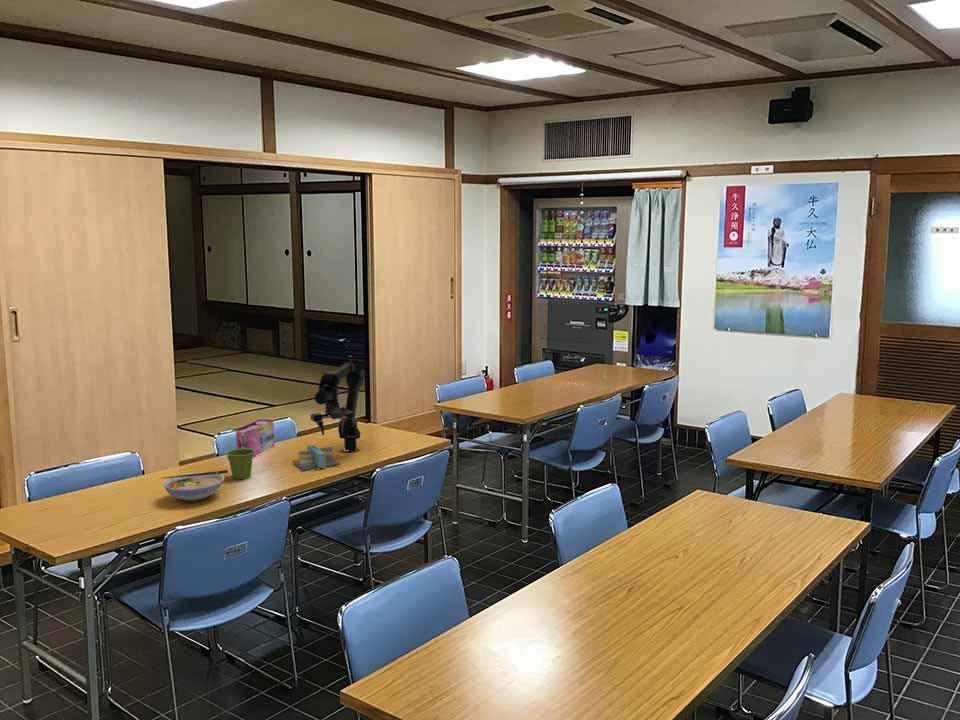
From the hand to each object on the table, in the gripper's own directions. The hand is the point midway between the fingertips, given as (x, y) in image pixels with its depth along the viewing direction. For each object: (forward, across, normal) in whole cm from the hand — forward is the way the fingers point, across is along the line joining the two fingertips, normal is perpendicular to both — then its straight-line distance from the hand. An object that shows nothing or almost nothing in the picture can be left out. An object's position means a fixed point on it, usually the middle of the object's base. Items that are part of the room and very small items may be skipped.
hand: (333, 434), depth 366 cm
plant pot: (+12, -43, -8) cm, 45 cm away
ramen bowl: (+12, -65, -28) cm, 72 cm away
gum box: (+12, -28, +33) cm, 45 cm away
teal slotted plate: (+11, -10, -4) cm, 15 cm away
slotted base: (+12, -10, -4) cm, 16 cm away
